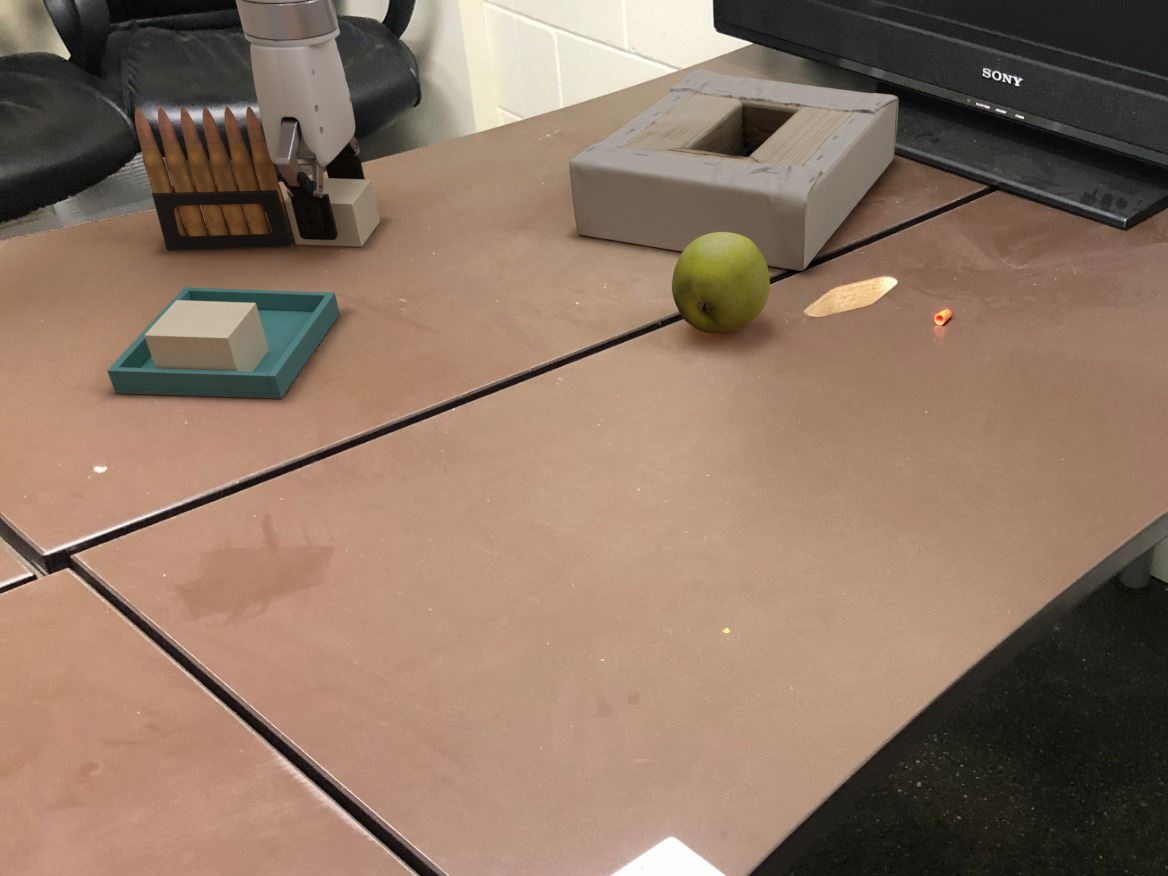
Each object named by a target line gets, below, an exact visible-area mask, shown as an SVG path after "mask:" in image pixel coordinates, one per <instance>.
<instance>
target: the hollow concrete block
mask: <svg viewBox="0 0 1168 876" xmlns="http://www.w3.org/2000/svg"><path fill="white" fill-rule="evenodd" d="M899 101H900V100H899V97H898V96H897V95H894V94H889V93H888V94H887V93H877V92H872V93H871V92H863V91H856V90H847V89H840V88H839V89H838V88H832V87H824V86H823V87H822V86H815V85H809V84H801V83H794V82H793V83H792V82H787V81H786V82H785V81H777V80H772V79H771V80H769V79H763V78H762V79H761V78H755V77H747V76H746V77H745V76H739V75H732V74H725V73H718V72H715V71H712V70H706V69H694V70H692V71H691V72H689V73H688V74H686V76H685V77H683V79H681V81H679V82H678V83H676V84H674V85H673V86H671V87H670V90H669V92H668V93H667V94H665V95H664V96H663V97H662V98H660V99H659V100H658V101H656V102H655V103H654V104H652V105H651V106H649V107H648V108H646V109H644V111H642V112H641V113H639V114H638V115H637V116H635V117H634V118H633V119H631V120H629V122H627V123H625V124H624V125H623V126H621V127H620V128H619V129H617V130H616V131H614V132H613V133H611V134H610V135H609V136H606V138H604V139H603V140H601V141H600V142H599V141H598V142H594V143H593V144H591V145H589V146H588V147H587V148H585V149H583V150H582V151H580V152H579V153H578V154H577V155H576V156H574V157H573V158H572V159H571V160H570V161H569V164H568V165H569V176H570V177H569V178H570V187H571V198H572V204H573V211H574V222H575V228H576V232H577V233H578V234H579V235H582V236H586V237H592V238H597V239H598V238H599V239H604V240H611V241H616V242H617V241H618V242H623V243H628V244H635V245H640V246H641V245H642V246H645V247H646V246H647V247H652V248H657V249H664V250H670V251H676V252H683V251H684V249H685V248H686V247H687V246H688V245H689V244H690V243H691V242H693V241H694V240H695V239H697V238H699V237H701V236H703V235H706V234H709V233H714V232H729V233H735V234H739V235H742V236H745V237H747V238H749V239H750V240H751V241H752V242H753V243H754V244H755V245H756V246H757V247H758V249H759V250H760V252H761V253H762V255H763V257H764V259H765V261H766V263H767V267H774V268H781V269H787V270H794V271H799V272H800V271H805V269H806V268H807V267H808V266H809V265H810V264H811V262H812V261H813V259H814V258H816V256H817V255H818V253H819V252H820V250H822V248H823V247H824V246H825V244H826V243H827V242H828V241H829V240H830V238H831V237H833V235H834V233H835V232H836V231H837V230H838V229H839V227H840V226H841V225H842V224H843V223H844V221H845V220H846V219H847V218H848V216H849V215H850V213H851V212H852V211H853V210H854V209H855V208H856V207H857V205H858V204H859V202H860V201H861V200H862V199H863V197H864V196H865V195H866V194H867V192H868V191H869V190H870V189H871V188H872V186H873V185H874V184H875V183H876V182H877V181H878V179H879V178H880V176H882V174H883V173H884V172H885V170H886V169H887V168H888V167H889V165H890V164H891V163H892V162H893V160H894V157H895V150H896V142H897V131H898V120H899Z"/></svg>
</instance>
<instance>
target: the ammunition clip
mask: <svg viewBox="0 0 1168 876" xmlns="http://www.w3.org/2000/svg"><path fill="white" fill-rule="evenodd" d="M223 116H224V128H225V134H226V138H227V143H228V148H229V153H230V155H229V154H228V152H227V150H226V147H225V145H224V142H223V140H222V136H221V133H220V130H219V127H218V125H217V122H216V120H215V118H214V116H213V114H212V113H211V111H210V110H209V109H208V107H206V106H203V108H202V128H203V132H204V133H203V134H204V136H205V140H206V146H207V150H208V156H207V154H206V152H205V150H204V146H203V144H202V141H201V139H200V136H199V133H198V129H197V126H196V125H195V122H194V120H193V118H192V116H191V114H190V113H189V111H188V110H187V109H186V108H185V107H184V106H182V107H181V108H180V127H181V132H182V136H183V137H182V138H183V140H184V145H185V149H186V155H187V157H186V156H185V154H184V153H183V151H182V147H181V145H180V142H179V140H178V137H177V134H176V131H175V128H174V126H173V124H172V122H171V120H170V118H169V116H168V115H167V113H166V112H165V110H164V109H163V108H162V107H159V108H158V109H157V124H158V130H159V134H160V138H161V142H162V147H163V151H164V157H163V155H162V154H161V151H160V150H159V146H158V144H157V141H156V139H155V135H154V132H153V130H152V128H151V125H150V123H149V122H148V120H147V117H146V116H145V114H144V113H143V112H142V110H141V109H140V108H139V107H136V108H135V111H134V121H135V123H134V124H135V129H136V133H137V137H138V140H139V146H140V149H141V153H142V161H143V162H142V163H143V165H144V169H145V172H146V176H147V179H148V181H149V186H150V188H151V192H152V193H151V195H152V199H153V200H152V201H153V203H154V207H155V210H156V215H157V219H158V222H159V226H160V230H161V234H162V238H163V241H164V246H165V249H166V251H170V252H171V251H198V250H201V251H202V250H231V249H232V250H233V249H266V248H292V246H294V245H295V241H294V237H293V233H292V229H291V225H290V221H289V217H288V214H287V210H286V206H285V198H284V195H283V191H282V189H281V185H280V183H279V180H278V175H277V171H276V168H275V164H274V163H273V162H272V161H271V159H270V156H269V152H268V148H267V144H266V139H265V135H264V131H263V128H262V126H261V124H260V121H259V119H258V117H257V115H256V113H255V111H254V109H253V108H252V107H251V106H250V105H249V106H247V107H246V111H245V121H246V129H247V130H246V131H247V135H248V139H249V145H250V150H251V155H250V154H249V151H248V149H247V146H246V143H245V140H244V138H243V134H242V130H241V128H240V125H239V122H238V121H237V119H236V116H235V114H234V113H233V112H232V110H231V108H230V107H229V106H225V108H224V115H223ZM164 158H165V159H164Z"/></svg>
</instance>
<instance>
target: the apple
mask: <svg viewBox="0 0 1168 876" xmlns="http://www.w3.org/2000/svg"><path fill="white" fill-rule="evenodd" d="M672 273H673V274H672V280H671V293H672V298H673V301H674V304H675V306H676V308H677V310H678V313H679V314H680V316H681V318H682V319H683V320H684V321H685V322H686V323H687V324H688V325H690V326H691V327H693V328H694V329H695V330H697V331H699V332H701V333H704V334H715V335H716V334H720V335H721V334H729V333H733V332H736V331H739V330H741V329H742V328H744V327H746V326H747V325H749V324H750V323H752V322H753V321H755V320H756V319H757V318H758V317H759V316H760V314H761V313H762V311H763V310H764V308H765V307H766V304H767V301H768V298H769V295H770V292H771V291H770V290H771V279H770V272H769V266H767V263H766V261H765V259H764V257H763V255H762V253H761V252H760V250H759V249H758V247H757V246H756V245H755V244H754V243H753V242H752V241H751V240H750V239H749V238H747V237H745V236H742V235H739V234H735V233H729V232H714V233H709V234H706V235H703V236H701V237H699V238H697V239H695V240H694V241H693V242H691V243H690V244H689V245H688V246H687V247H686V248H685V249H684V251H681V254H680V255H679V257H678V259H677V261H676V264H675V266H674V270H673V272H672Z"/></svg>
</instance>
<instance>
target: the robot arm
mask: <svg viewBox="0 0 1168 876" xmlns="http://www.w3.org/2000/svg"><path fill="white" fill-rule="evenodd" d="M235 3H236V7H237V8H236V9H237V12H238V15H239V19H240V24H241V26H242V31H243V35H244V38H245V40H246V41H247V42H248V43H249V42H250V44H249V49H250V61H251V69H252V77H253V83H254V90H255V96H256V100H257V106H258V110H259V115H260V120H261V125H262V131H263V135H264V139H265V141H266V145H267V148H268V152H269V156H270V159H271V161H272V162H273V164H274V165H275V166H276V168H277V170H278V172H279V173H280V175H281V177H282V178H281V179H280V180H281V182H282V183H283V185H284V186H285V189H286V194H287V196H288V197H290V199H291V203H292V207H293V211H294V215H295V219H296V223H297V226H298V230H299V234H300V237H301V238H302V239H308V240H335V239H336V238H337V237H338V233H337V228H336V224H335V220H334V216H333V211H332V207H331V203H330V199H329V194H323V178H324V174H325V173H324V168H325V170H326V174H327V178H334V179H361V180H366V178H365V173H364V169H363V163H362V159H361V156H360V155H359V154H360V145H359V142H358V139H356V137H355V131H356V120H355V114H354V107H353V104H352V98H351V93H350V90H349V85H348V81H347V77H346V73H345V69H344V66H343V63H342V58H341V55H340V51H339V48H338V45H337V41H336V39H337V38H338V36H339V35H340V34H341V31H340V27H339V21H338V18H337V17H338V16H337V13H336V12H337V11H336V8H335V4H334V0H235ZM298 155H299V156H313V157H299V156H298ZM301 170H311V177H309V175H308V174H307V173H306V172H305V171H301ZM310 178H312V180H311V179H310Z"/></svg>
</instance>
